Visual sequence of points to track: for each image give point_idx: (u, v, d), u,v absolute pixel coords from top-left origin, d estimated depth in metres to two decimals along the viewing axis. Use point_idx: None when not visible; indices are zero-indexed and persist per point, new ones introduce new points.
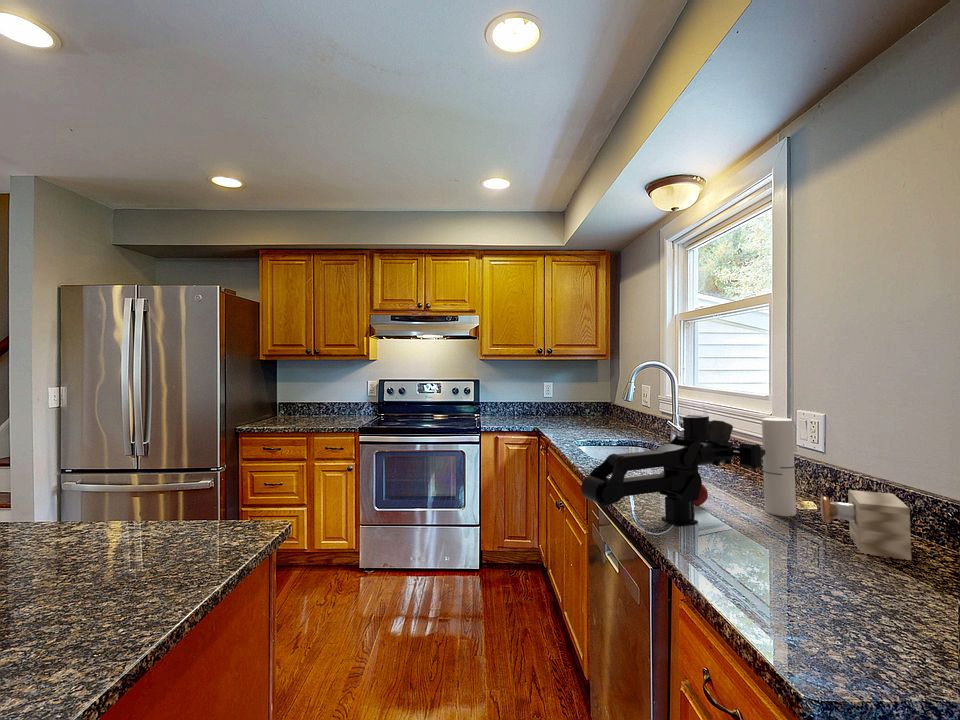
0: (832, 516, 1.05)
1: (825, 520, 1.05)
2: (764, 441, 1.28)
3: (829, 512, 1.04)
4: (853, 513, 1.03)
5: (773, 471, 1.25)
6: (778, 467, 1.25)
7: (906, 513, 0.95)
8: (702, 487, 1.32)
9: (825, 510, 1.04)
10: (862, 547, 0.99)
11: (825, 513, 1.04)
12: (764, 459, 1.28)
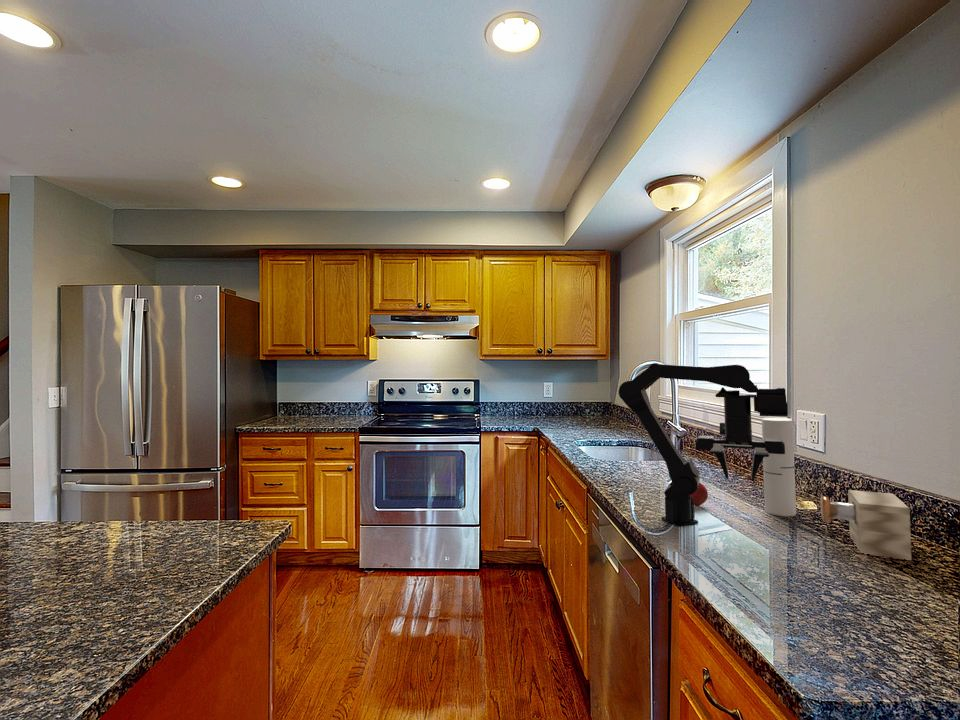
0: (832, 516, 1.05)
1: (825, 520, 1.05)
2: None
3: (829, 512, 1.04)
4: (853, 513, 1.03)
5: (773, 471, 1.25)
6: (778, 467, 1.25)
7: (906, 513, 0.95)
8: (702, 487, 1.32)
9: (825, 510, 1.04)
10: (862, 547, 0.99)
11: (825, 513, 1.04)
12: (764, 459, 1.28)
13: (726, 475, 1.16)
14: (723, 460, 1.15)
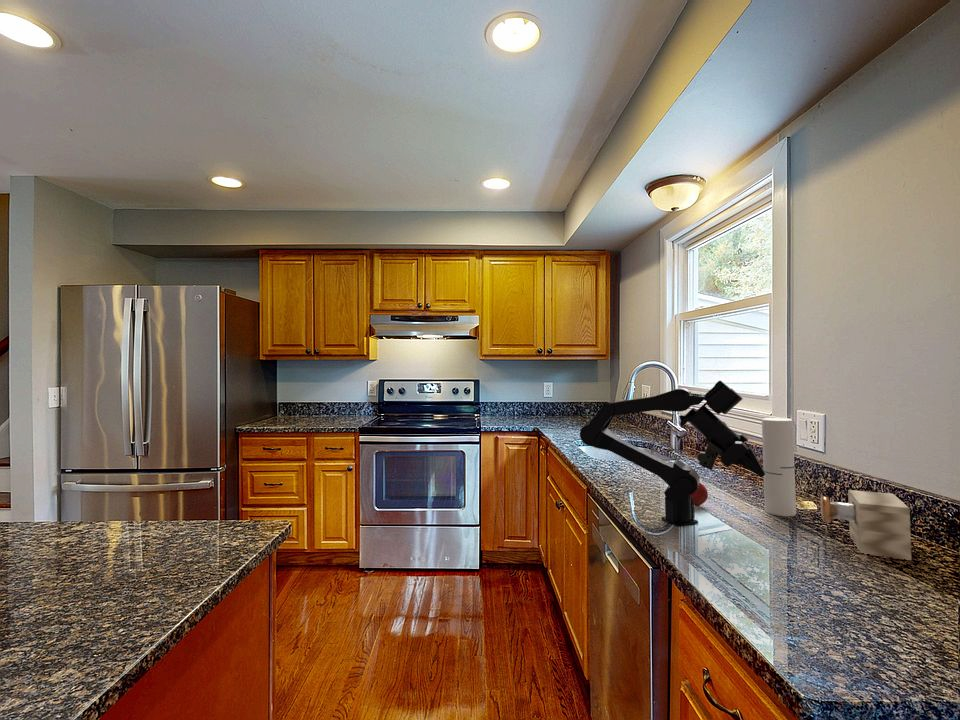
0: (832, 516, 1.05)
1: (825, 520, 1.05)
2: (764, 441, 1.28)
3: (829, 512, 1.04)
4: (853, 513, 1.03)
5: (773, 471, 1.25)
6: (778, 467, 1.25)
7: (906, 513, 0.95)
8: (702, 487, 1.32)
9: (825, 510, 1.04)
10: (862, 547, 0.99)
11: (825, 513, 1.04)
12: (764, 459, 1.28)
13: (762, 470, 1.12)
14: (754, 454, 1.13)
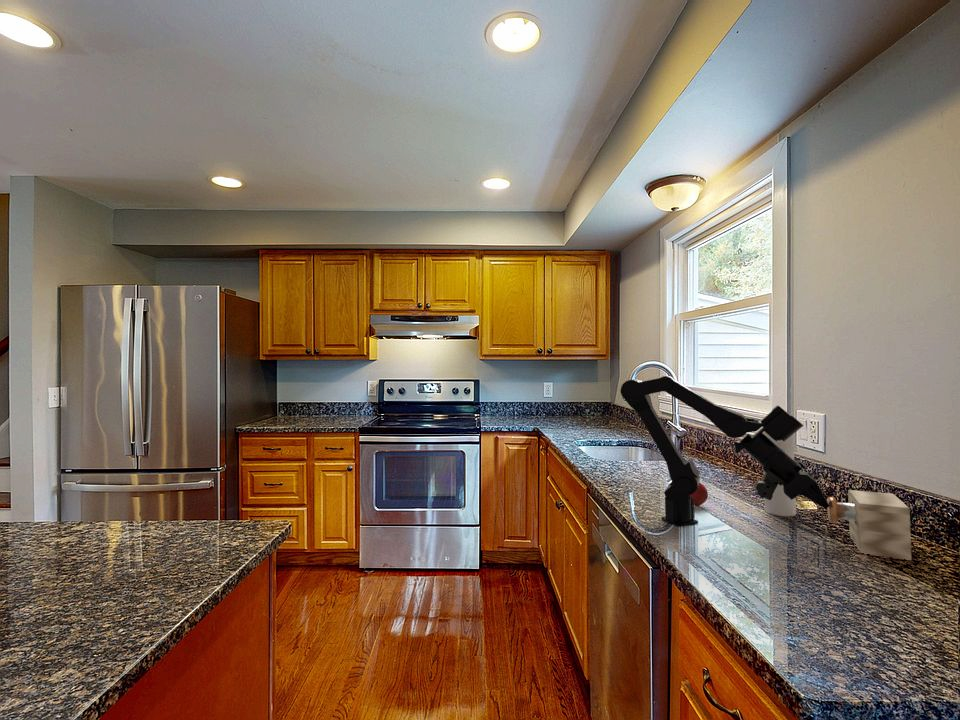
0: (839, 517, 1.04)
1: (832, 521, 1.04)
2: None
3: (836, 513, 1.03)
4: None
5: None
6: None
7: (906, 513, 0.95)
8: (702, 487, 1.32)
9: (832, 511, 1.04)
10: (862, 547, 0.99)
11: (832, 514, 1.04)
12: None
13: None
14: None
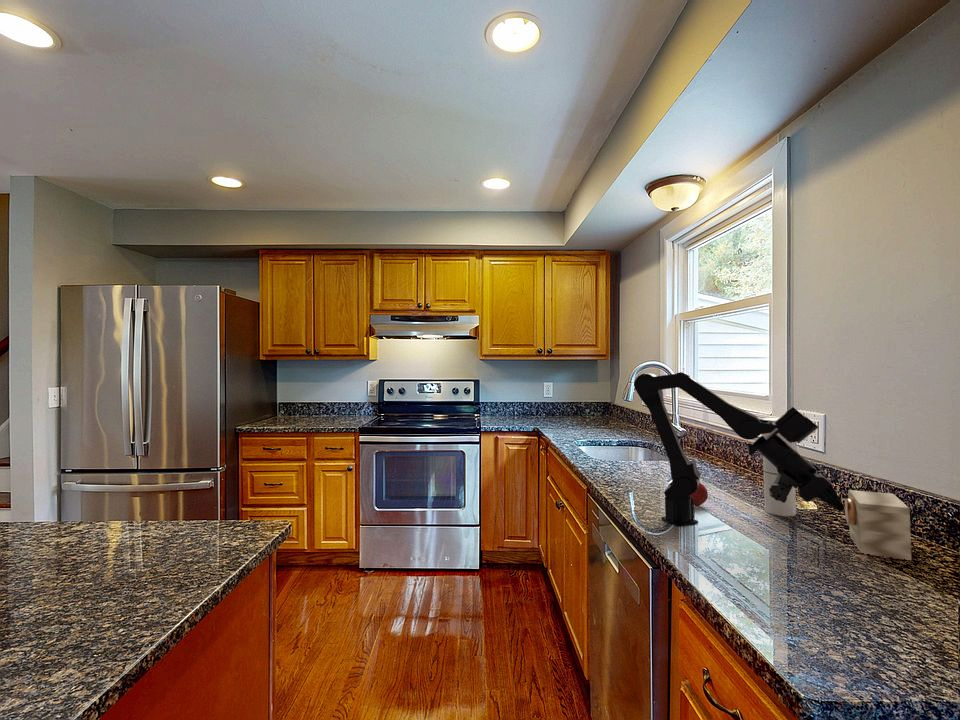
0: None
1: (850, 523, 1.03)
2: None
3: (855, 515, 1.02)
4: None
5: (773, 471, 1.25)
6: None
7: (906, 513, 0.95)
8: (702, 487, 1.32)
9: (851, 513, 1.02)
10: (862, 547, 0.99)
11: (851, 516, 1.02)
12: (764, 459, 1.28)
13: (842, 504, 1.05)
14: (832, 487, 1.05)
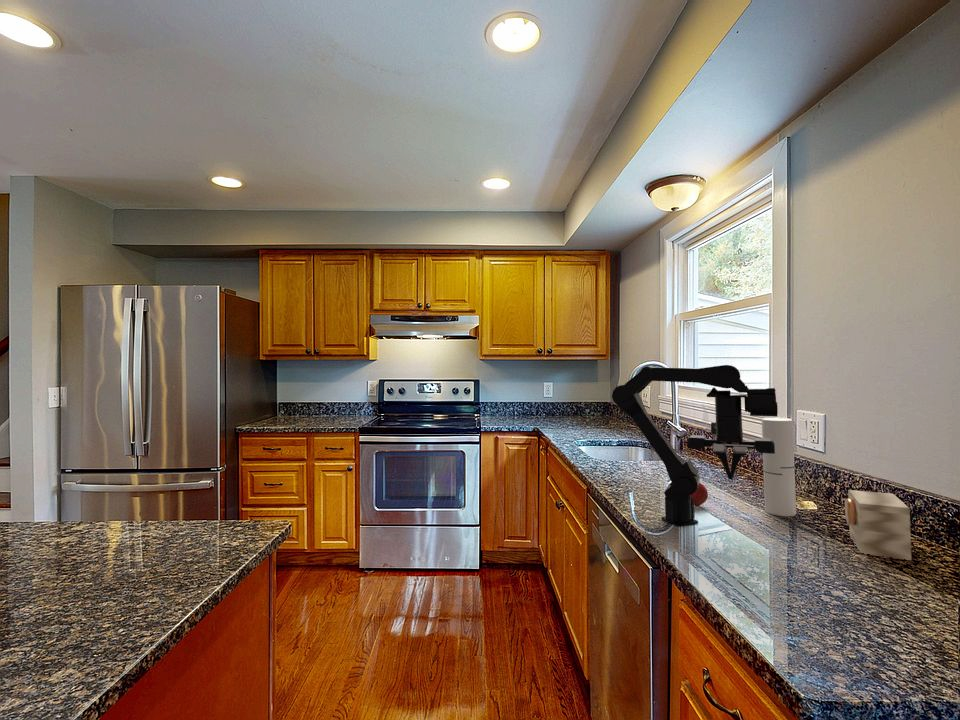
0: None
1: (850, 523, 1.03)
2: None
3: (855, 515, 1.02)
4: None
5: (773, 471, 1.25)
6: (778, 467, 1.25)
7: (906, 513, 0.95)
8: (702, 487, 1.32)
9: (851, 513, 1.02)
10: (862, 547, 0.99)
11: (851, 516, 1.02)
12: (764, 459, 1.28)
13: (728, 475, 1.15)
14: (725, 460, 1.14)
